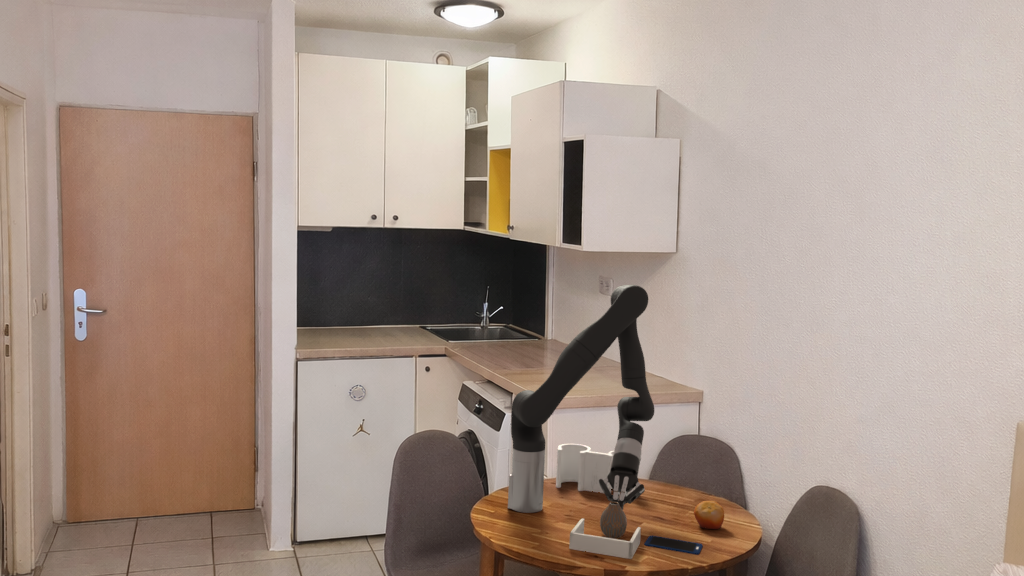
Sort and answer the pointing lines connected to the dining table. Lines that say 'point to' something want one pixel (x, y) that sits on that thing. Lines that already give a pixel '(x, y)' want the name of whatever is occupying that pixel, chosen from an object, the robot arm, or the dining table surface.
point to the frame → (603, 543)
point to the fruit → (709, 515)
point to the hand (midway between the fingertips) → (616, 515)
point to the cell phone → (674, 544)
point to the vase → (613, 521)
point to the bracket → (583, 467)
